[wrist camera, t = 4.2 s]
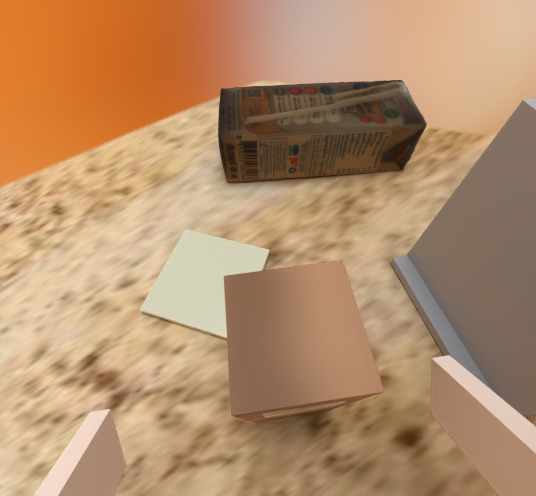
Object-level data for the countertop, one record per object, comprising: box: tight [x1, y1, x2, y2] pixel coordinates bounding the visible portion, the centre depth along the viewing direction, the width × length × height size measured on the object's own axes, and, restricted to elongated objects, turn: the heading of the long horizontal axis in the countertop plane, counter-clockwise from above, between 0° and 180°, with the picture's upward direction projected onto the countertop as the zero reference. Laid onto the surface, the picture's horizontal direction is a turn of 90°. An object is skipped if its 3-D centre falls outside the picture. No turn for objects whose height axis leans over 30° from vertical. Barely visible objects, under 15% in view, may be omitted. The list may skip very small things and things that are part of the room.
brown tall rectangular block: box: [224, 260, 384, 422], centre depth 15 cm, size 5×5×11 cm
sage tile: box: [140, 229, 270, 339], centre depth 23 cm, size 8×8×1 cm
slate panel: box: [390, 98, 536, 416], centre depth 15 cm, size 12×4×14 cm, turn 15°
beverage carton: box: [218, 80, 426, 182], centre depth 29 cm, size 8×19×7 cm, turn 94°
